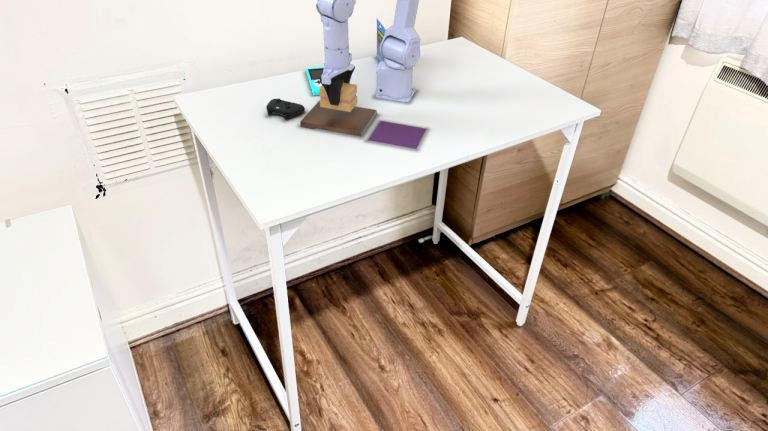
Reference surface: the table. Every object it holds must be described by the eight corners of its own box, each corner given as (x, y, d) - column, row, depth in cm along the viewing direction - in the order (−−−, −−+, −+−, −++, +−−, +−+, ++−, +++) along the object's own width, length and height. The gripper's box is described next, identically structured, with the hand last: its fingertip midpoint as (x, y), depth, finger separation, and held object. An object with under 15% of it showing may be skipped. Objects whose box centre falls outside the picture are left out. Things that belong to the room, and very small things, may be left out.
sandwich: (320, 107, 129) (318, 88, 126) (327, 98, 133) (326, 79, 130) (350, 112, 127) (349, 93, 124) (357, 103, 131) (357, 84, 128)
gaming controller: (307, 107, 136) (297, 99, 130) (300, 127, 136) (290, 119, 130) (276, 99, 139) (264, 91, 133) (269, 118, 139) (258, 111, 133)
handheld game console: (312, 95, 143) (312, 91, 143) (305, 71, 155) (305, 67, 155) (348, 92, 145) (348, 87, 144) (338, 69, 157) (338, 64, 156)
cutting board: (300, 126, 130) (300, 121, 129) (319, 105, 139) (319, 100, 138) (361, 137, 127) (361, 132, 126) (376, 115, 136) (376, 109, 135)
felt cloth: (367, 141, 125) (367, 140, 125) (380, 121, 133) (380, 120, 133) (416, 149, 123) (416, 148, 123) (426, 129, 130) (426, 128, 130)
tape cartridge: (396, 67, 159) (397, 26, 151) (383, 68, 158) (384, 27, 150) (387, 56, 166) (388, 16, 158) (375, 57, 165) (376, 17, 157)
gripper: (341, 59, 114) (343, 115, 123) (363, 37, 125) (363, 89, 134) (311, 55, 116) (315, 110, 124) (335, 33, 127) (337, 85, 135)
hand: (338, 99), depth 129 cm, fingers closed on sandwich, 5 cm apart
